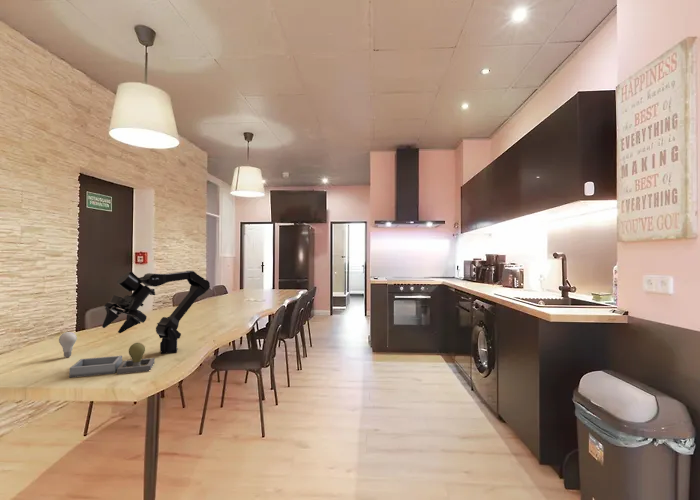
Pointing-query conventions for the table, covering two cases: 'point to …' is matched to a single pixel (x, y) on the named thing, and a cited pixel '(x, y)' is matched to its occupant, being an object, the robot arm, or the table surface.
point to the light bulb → (136, 353)
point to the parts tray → (95, 366)
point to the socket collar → (123, 369)
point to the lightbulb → (67, 342)
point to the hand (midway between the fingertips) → (110, 330)
